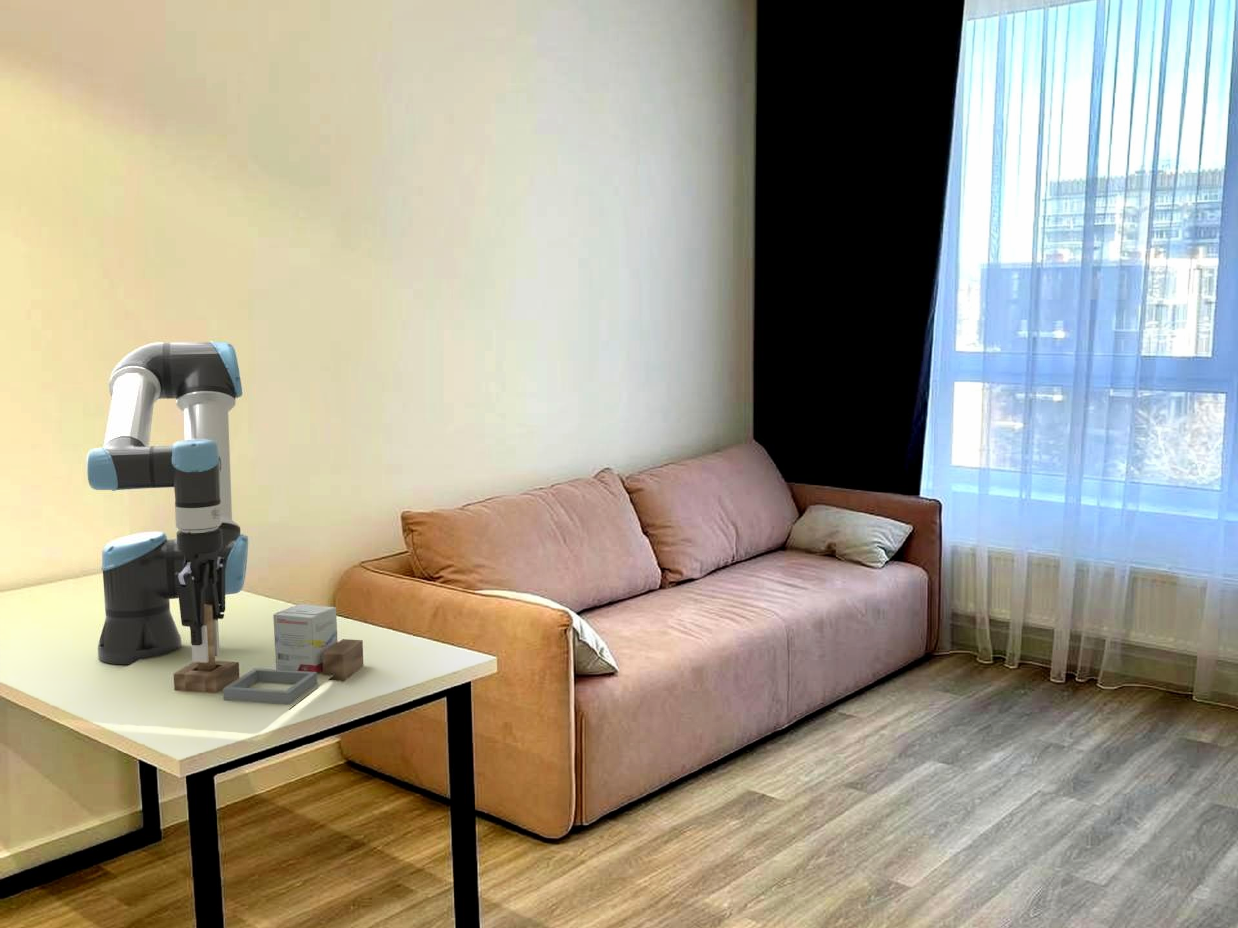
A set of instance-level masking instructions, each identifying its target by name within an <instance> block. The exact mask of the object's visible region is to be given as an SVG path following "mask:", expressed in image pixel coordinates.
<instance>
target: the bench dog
mask: <svg viewBox="0 0 1238 928" xmlns="http://www.w3.org/2000/svg"><path fill="white" fill-rule="evenodd" d="M363 645H364V642H363V640H362V639H351V638H350V639H349V638H342V639H341V640H339V641H338V643H336V644H335V645H334V646H332V647H331V648H329V649H328V650H326V651H325V652H324V653H322V661H323V671H322V675H323V676H330V677H329V678H328V679H327V681H333V682H335V681H336V682H338V681H339V682H345V681H346V680H348V678H350V677H352V676H353V675H354V674H355V673H356V672H357V671H359V670H360V669H362V667H364V646H363Z"/></svg>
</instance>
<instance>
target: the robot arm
mask: <svg viewBox="0 0 1238 928" xmlns="http://www.w3.org/2000/svg"><path fill="white" fill-rule="evenodd" d="M108 390H109V394H110V396H111V398H112V400H111V404H110V409H109V415H108V421H107V426H106V432H105V438H104V443H103V446H100V447H98V448H92V449H90V450H89V451H88V453H87V456H86V472H87V473H86V474H87V480H88V484H89V487H90V488H91V489H93V490H96V491H112V492H116V491H125V490H141V489H163V488H168V489H169V488H173V491H174V499H175V500H174V512H175V513H174V515H175V528H176V529H178V531H177V532H176V538H175V539H168V537H167V536H168V535H166V533H165V532H164V531H145V532H139V533H133V534H130V535H125V536H122V537H118V538H116V539H114V540H111V541H109V542H108V543H106V545H104V547H103V549H102V552H101V557H102V558H101V559H102V560H101V561H102V562H101V567H100V569H101V571H102V578H103V579H102V580H103V593H104V594H103V595H104V596H103V597H104V609H105V613H104V614H105V618H104V619H105V620H104V623H103V626H102V630H101V634H100V637H99V641H98V644H97V657H98V660H99V661H100V662H103V663H107V664H112V665H132V664H133V665H134V663H137V662H138V661H141V660H147V659H154V658H159V657H162V656H166V655H168V654H171V653H174V652H176V651H177V650H179V649H180V648H181V647H182V637H181V634H180V632H179V630H178V626H177V624H176V622H175V620H174V618H173V615H172V613H171V605H170V604H171V602H170V600H175V599H177V600H178V604H179V614H180V621H181V626H183V627H188V628H189V629H190V643H191V659H192V660H191V661H192V663H193V662H202V663H207V662H209V656H208V637H207V626H204V604H211V605H212V611H213V630H214V648H215V657H219V656H220V654H221V653H220V651H221V650H220V634H219V631H220V630H219V620H223V619H224V617H225V614H224V613H225V612H226V595H235V594H238V593H240V592H241V591H242V590H243V588H244V585H245V582H246V574H247V567H248V566H247V564H248V548H249V537H248V535H246V534H244V533H243V534H241V525H239V524H238V523H236V521H234V520H233V507H232V482H231V480H232V479H231V477H232V476H231V458H230V457H231V455H230V451H231V449H230V429H229V427H230V425H229V412H230V411H231V410H233V408H235V407H236V405H237V404H236V399H238V398H241V397H243V386H242V381H241V375H240V369H239V363H238V358H237V353H236V350H235V348H234V346H233V345H232V344H231V343H229V342H217V341H212V340H210V341H203V342H202V341H201V342H199V341H194V342H193V341H192V342H190V341H189V342H188V341H187V342H163V341H162V342H152V343H148V344H145V345H143V346H140V347H139V348H136V349H134V350H133V351H132V352H130V353H128V354H127V355H126V356H124V357H123V358H122V359H121V360H120V361H119V362H118V363H117V364H116V365H115V367H114V369H113V370H112V372H111V375H110V379H109V384H108ZM159 399H173V400H174V399H175V404H176V407H177V408H178V409H179V410H181V411H182V412H183V413H184V415H183V416H184V417H183V421H184V439H181V440H177V441H175V442H174V443H173V444H172V445H159V446H156V445H153V446H152V445H151V446H150V442H151V441H150V439H151V430H152V421H153V412H154V405H155V403H156V402H157V401H158V400H159Z"/></svg>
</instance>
